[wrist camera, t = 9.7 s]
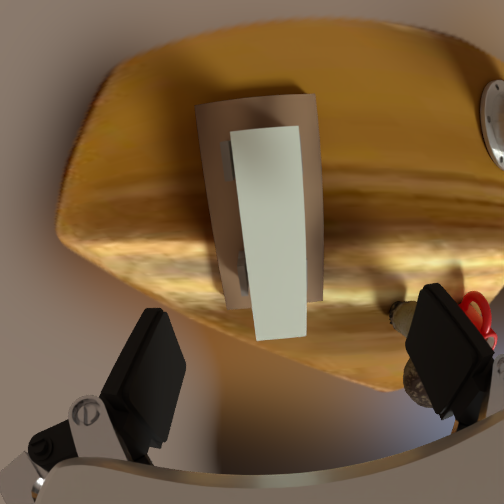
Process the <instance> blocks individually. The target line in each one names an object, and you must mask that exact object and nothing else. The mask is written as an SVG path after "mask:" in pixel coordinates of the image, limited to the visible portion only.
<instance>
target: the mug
mask: <svg viewBox="0 0 504 504" xmlns="http://www.w3.org/2000/svg"><path fill="white" fill-rule="evenodd" d="M472 301H474V302H476V303H477V304H478V306H479V307H480V310H481V313H482V317H481V316H480V315H479V313H478V312H477V311H476V310H475V309H474V308H473V307H472V306H471V305H470V303H471V302H472ZM458 305H459V307H460V308H461V309H462V310H463V311H464V313H465V314H466V315H467V316H468V318H469V319H470V320H471V321H472V323H473V324H474V325H475V327H476V328H477V329H478V330H479V332H480V333H481V334H482V336H483V337H484V338H485V340H486V341H487V342H488V344H489V345H490V347H491V348H492V349H493V350H494V348H495V346H496V343H497V335H496V333H495V332H494V331H493V330H492V328H491V310H490V307H489V304H488V302H487V300H486V299H485V297H484V296H483V295H482V294H481V293H479V292H477V291H470V292H468V293H467V294H466V295H465V296H464V298H463V300H462V303H460V304H458Z"/></svg>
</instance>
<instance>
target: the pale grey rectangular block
mask: <svg viewBox="0 0 504 504" xmlns="http://www.w3.org/2000/svg"><path fill="white" fill-rule="evenodd" d="M230 136H231V144H232V153H233V161H234V169H235V177H236V185H237V193H238V201H239V209H240V217H241V225H242V233H243V241H244V249H245V256H246V264H247V272H248V280H249V287H250V295H251V302H252V310H253V317H254V325H255V332H256V340H257V341H258V340H271V339H282V338H292V337H301V336H306V315H307V282H306V235H305V211H304V192H303V176H302V161H301V149H300V137H299V126H285V127H271V128H259V129H249V130H240V131H232V132H230Z"/></svg>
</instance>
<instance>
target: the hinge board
mask: <svg viewBox="0 0 504 504" xmlns="http://www.w3.org/2000/svg"><path fill="white" fill-rule="evenodd" d="M195 113H196V122H197V129H198V137H199V144H200V152H201V159H202V166H203V173H204V179H205V186H206V193H207V199H208V205H209V212H210V218H211V224H212V230H213V236H214V242H215V247H216V253H217V259H218V264H219V270H220V275H221V280H222V286H223V291H224V296H225V301H226V307H227V310H229V309H243V308H252V302H251V295H250V287H249V280H248V272H247V264H246V256H245V249H244V241H243V233H242V225H241V217H240V209H239V201H238V193H237V185H236V177H235V169H234V161H233V153H232V144H231V136H230V132H232V131H240V130H249V129H259V128H271V127H285V126H299V137H300V149H301V161H302V176H303V192H304V211H305V235H306V282H307V302H316V301H323V272H324V222H323V188H322V168H321V152H320V139H319V127H318V116H317V106H316V97H315V94H291V95H273V96H260V97H250V98H241V99H233V100H225V101H218V102H212V103H206V104H200V105H195Z"/></svg>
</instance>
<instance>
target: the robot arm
mask: <svg viewBox="0 0 504 504" xmlns="http://www.w3.org/2000/svg"><path fill="white" fill-rule="evenodd" d="M480 116H481V126H482V132H483V137H484V140H485V143H486V147H487V149H488V152H489V154H490V156H491V158H492V159H493V161H494V163H495V164H496V165H497V166H498V167H499V168H500V169H502V170H504V81H503V80H494V81H491V82H489V83H488V84H487V85H486V87H485V88H484V91H483V94H482V98H481V107H480ZM405 347H406V350H407V353H408V355H409V357H410V359H411V361H412V363H413V365H414V367H415V369H416V371H417V373H418V375H419V377H420V379H421V382H422V384H423V386H424V388H425V390H426V393H427V395H428V397H429V399H430V402H431V404H432V406H433V409H434V411H435V413H436V414H439V415H440V418H441V420H444V419H446V418H449V417H451V416H453V414H454V416H455V423H454V426H453V429H452V432H451V435H449V436H446V437H444V438H441V439H439V440H436V441H434V442H432V443H429V444H426V445H423V446H421V447H418V448H415V449H412V450H409V451H406V452H403V453H400V454H396V455H393V456H389V457H386V458H382V459H378V460H374V461H370V462H366V463H362V464H357V465H352V466H348V467H342V468H336V469H330V470H323V471H315V472H306V473H295V474H281V475H223V474H209V473H199V472H191V471H182V470H175V469H168V468H162V467H157V466H154V465H153V463H152V461H151V460H150V458H149V456H148V454H147V453H148V449H149V447H154V448H159V449H160V448H161V446H162V443H163V442H166V441H167V438H168V434H169V430H170V427H171V423H172V419H173V415H174V411H175V408H176V404H177V400H178V396H179V393H180V389H181V386H182V382H183V378H184V375H185V371H186V362H185V359H184V357H183V354H182V352H181V349H180V346H179V344H178V341H177V339H176V336H175V333H174V331H173V328H172V325H171V322H170V319H169V316H168V314H167V312H163V310H162V309H161V308H146V309H145V310H144V312H143V313H142V315H141V317H140V319H139V321H138V322H137V324H136V326H135V328H134V330H133V331H132V333H131V335H130V337H129V338H128V341H127V342H126V344H125V346H124V348H123V350H122V352H121V353H120V356H119V357H118V359H117V361H116V363H115V365H114V367H113V369H112V371H111V373H110V375H109V377H108V379H107V381H106V383H105V385H104V387H103V389H102V391H101V394H100V396H99V397H97V396H94V395H86V396H82V397H80V398H78V399H77V400H76V401H75V402H74V403H72V405H71V407H70V409H69V412H68V420H65V421H64V422H61V423H59V424H57V425H55V426H53V427H50V428H48V429H46V430H44V431H41V432H39V433H37V434H36V435H34V436H33V437H32V438H31V440H30V442H29V445H28V453H27V452H25V451H24V452H23V453H22V454H20V455H19V456H18V457H17V458H16V459H14V460H13V461H12V462H11V463H10V464H8V466H6V467H5V468H4V469H3V470H1V472H0V493H1V495H2V497H3V499H4V501H5V503H6V504H504V354H501V355H499V356H497V357H496V358H495V360H494V359H493V358H492V356H493V354H494V353H495V352H494V351H493V349H492V348H491V347H490V345H489V344H488V342H487V341H486V340H485V338H484V337H483V336H482V334H481V333H480V332H479V330H478V329H477V328H476V327H475V325H474V324H473V323H472V321H471V320H470V319H469V318H468V316H467V315H466V314H465V313H464V311H463V310H462V309H461V308H460V307H459V305H458V304H457V303H456V302H455V301H454V300H453V298H452V297H451V296H450V295H449V294H448V293H447V292H446V290H445V289H444V288H443V287H442V286H441V285H440V284H439V283H433V284H427V285H424V287H423V289H421V290H420V292H419V296H418V300H417V304H416V308H415V312H414V315H413V319H412V322H411V326H410V329H409V332H408V336H407V339H406V342H405Z"/></svg>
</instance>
